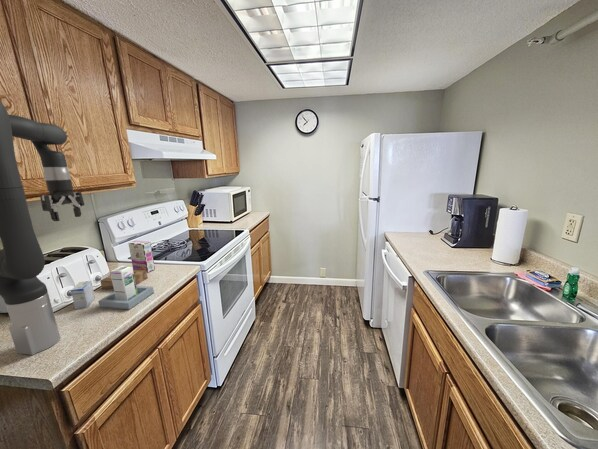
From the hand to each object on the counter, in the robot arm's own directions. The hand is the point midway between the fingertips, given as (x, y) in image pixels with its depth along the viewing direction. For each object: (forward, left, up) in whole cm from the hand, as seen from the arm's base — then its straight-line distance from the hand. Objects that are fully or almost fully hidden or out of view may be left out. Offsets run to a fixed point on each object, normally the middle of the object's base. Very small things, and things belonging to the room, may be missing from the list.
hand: (67, 218), depth 104 cm
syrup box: (+1, -20, -36) cm, 41 cm away
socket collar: (+15, -6, -36) cm, 40 cm away
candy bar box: (+31, -3, -36) cm, 48 cm away
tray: (+1, -20, -36) cm, 41 cm away
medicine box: (-4, -4, -36) cm, 37 cm away
